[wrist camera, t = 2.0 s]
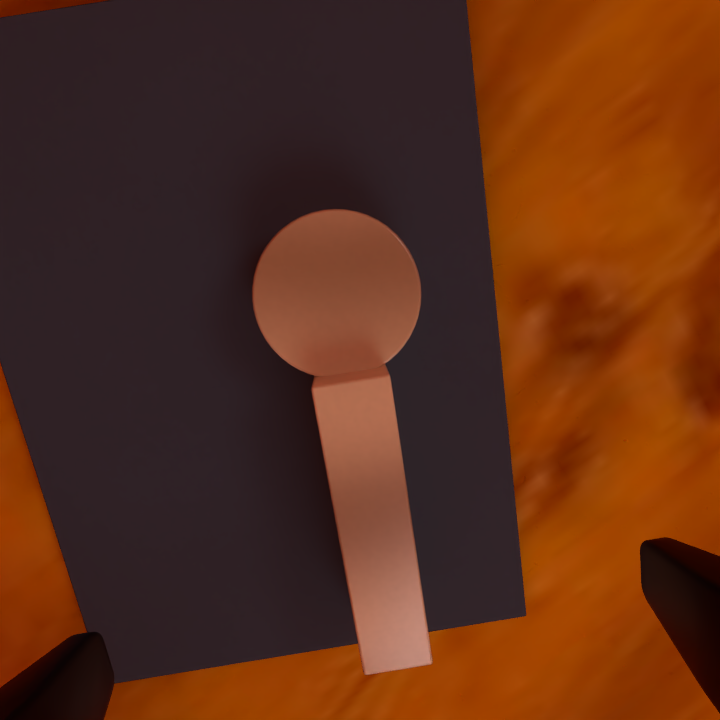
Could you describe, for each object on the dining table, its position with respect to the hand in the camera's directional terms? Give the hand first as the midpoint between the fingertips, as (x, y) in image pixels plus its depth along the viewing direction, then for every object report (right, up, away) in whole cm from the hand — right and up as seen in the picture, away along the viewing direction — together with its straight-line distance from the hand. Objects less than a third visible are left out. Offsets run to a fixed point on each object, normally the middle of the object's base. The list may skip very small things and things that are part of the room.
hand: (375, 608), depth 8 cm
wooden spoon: (0, +2, +9) cm, 9 cm away
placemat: (-4, +4, +8) cm, 10 cm away
